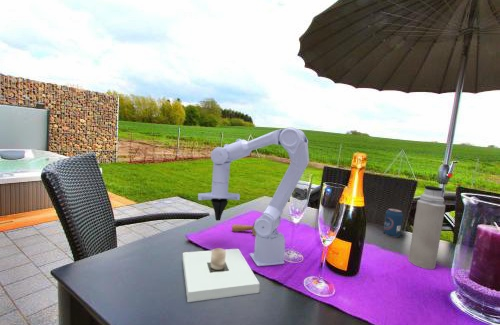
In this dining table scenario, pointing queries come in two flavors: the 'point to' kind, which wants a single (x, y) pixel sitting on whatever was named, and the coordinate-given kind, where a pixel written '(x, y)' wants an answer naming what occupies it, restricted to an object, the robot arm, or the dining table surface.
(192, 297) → the hole board
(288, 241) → the dining table surface
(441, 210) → the thermos bottle
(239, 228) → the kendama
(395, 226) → the soda can
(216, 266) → the birch peg
